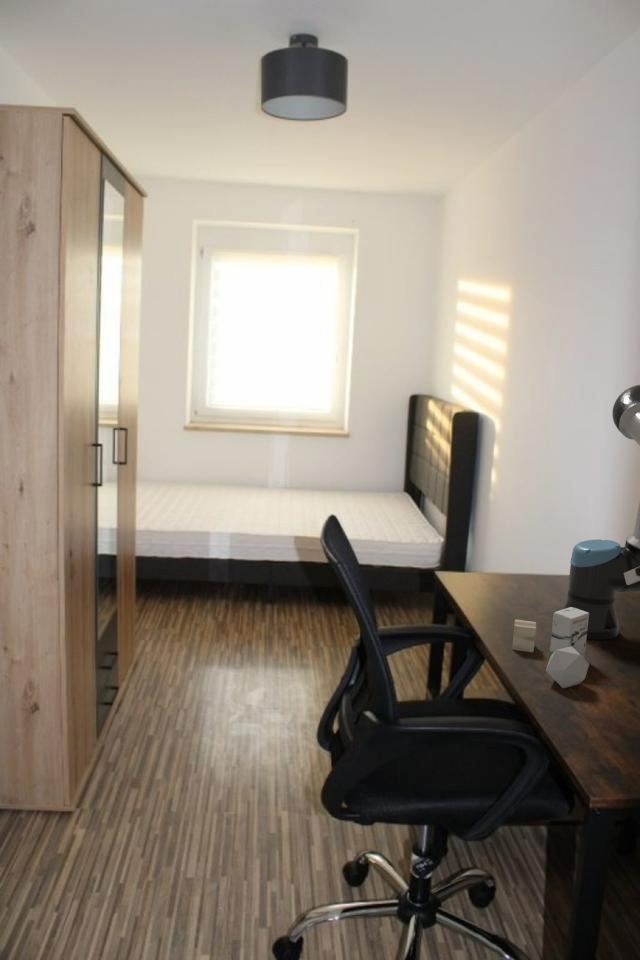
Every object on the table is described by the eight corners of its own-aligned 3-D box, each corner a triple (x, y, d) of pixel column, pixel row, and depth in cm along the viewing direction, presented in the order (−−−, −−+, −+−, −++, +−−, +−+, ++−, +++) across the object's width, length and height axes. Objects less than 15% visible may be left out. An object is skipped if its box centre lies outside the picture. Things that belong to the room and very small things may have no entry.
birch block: (512, 642, 204) (515, 619, 203) (533, 645, 203) (536, 622, 202) (512, 649, 199) (514, 625, 198) (533, 652, 198) (535, 628, 197)
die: (565, 676, 186) (543, 642, 185) (600, 667, 181) (577, 633, 179) (557, 700, 180) (534, 666, 178) (593, 692, 175) (569, 657, 173)
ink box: (566, 668, 189) (572, 618, 187) (547, 661, 193) (552, 612, 191) (585, 659, 195) (590, 611, 193) (566, 653, 199) (571, 605, 197)
